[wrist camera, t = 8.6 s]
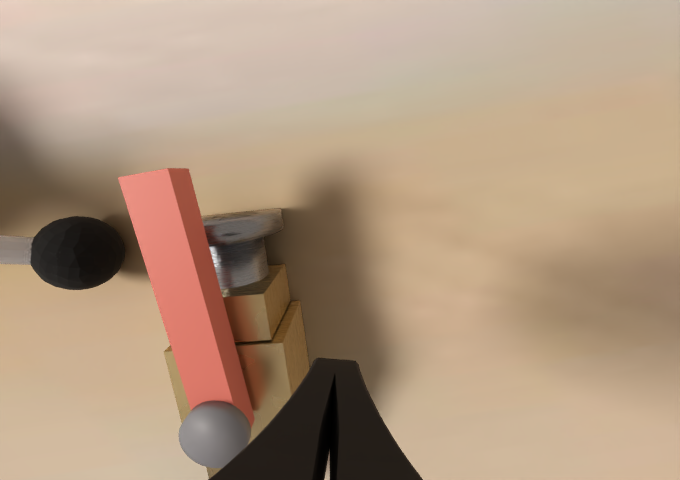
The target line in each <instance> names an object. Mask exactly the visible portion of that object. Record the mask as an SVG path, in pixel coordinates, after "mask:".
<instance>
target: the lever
mask: <svg viewBox="0 0 680 480" xmlns="http://www.w3.org/2000/svg"><path fill="white" fill-rule="evenodd" d="M118 179H119V183H120V186H121V189H122V192H123V195H124V198H125V202H126V205H127V208H128V211H129V214H130V218H131V221H132V224H133V227H134V230H135V234H136V237H137V240H138V243H139V246H140V249H141V253H142V256H143V259H144V262H145V265H146V269H147V272H148V275H149V278H150V281H151V285H152V288H153V291H154V294H155V297H156V300H157V304H158V307H159V310H160V313H161V316H162V320H163V323H164V326H165V329H166V332H167V335H168V339H169V342H170V345H171V348H172V351H173V355H174V358H175V361H176V364H177V367H178V371H179V374H180V377H181V380H182V383H183V386H184V390H185V393H186V396H187V399H188V402H189V406H190V409H191V411H190V412H189V414H188V415H187V417H186V418H185V420H184V421H183V423H182V425H181V427H180V429H179V442H180V445H181V447H182V449H183V451H184V452H185V453H186V455H187V456H188V457H189V458H191V459H192V460H193V461H195V462H196V463H198V464H200V465H203V466H206V467H210V468H223V467H224V466H225V465H226V464H228V463H229V462H230V461H231V460H232V459H233V458H234V457H235V456H236V455H237V454H239V453H240V452H241V451H242V450H243V449H244V448H245V447H246V446H247V445H248V443H249V440H250V437H251V428H252V425H253V423H254V420H255V418H254V414H253V410H252V406H251V403H250V399H249V395H248V391H247V388H246V384H245V380H244V376H243V372H242V369H241V365H240V361H239V357H238V354H237V350H236V346H235V342H234V339H233V335H232V331H231V327H230V323H229V320H228V316H227V312H226V308H225V305H224V301H223V297H222V293H221V290H220V286H219V282H218V278H217V274H216V271H215V267H214V263H213V259H212V256H211V252H210V248H209V244H208V240H207V237H206V233H205V229H204V225H203V222H202V218H201V214H200V210H199V207H198V203H197V199H196V195H195V191H194V188H193V184H192V180H191V176H190V173H189V169H176V168H167V169H162V170H156V171H151V172H145V173H140V174H134V175H129V176H123V177H118Z"/></svg>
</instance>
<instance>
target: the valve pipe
mask: <svg viewBox="0 0 680 480" xmlns="http://www.w3.org/2000/svg"><path fill="white" fill-rule="evenodd" d="M201 218H202V222H203V225H204V229H205V233H206V237H207V240H208V244H209V248H210V252H211V256H212V259H213V263H214V267H215V271H216V274H217V278H218V282H219V286H220V290H221V293H222V297H223V301H224V305H225V308H226V312H227V316H228V320H229V323H230V327H231V331H232V335H233V339H234V342H235V346H236V350H237V354H238V357H239V361H240V365H241V369H242V372H243V376H244V380H245V384H246V388H247V391H248V395H249V399H250V403H251V406H252V410H253V414H254V418H255V420H254V423H253V425H252V428H251V437H250V440H249V443H250V442H251V441H252V440H253V439H254V438H255V437H256V436H257V435H258V434H259V433H260V432H261V431H262V430H263V429H264V428H265V427H266V426H267V425H268V424H269V423H270V421H271V420H272V419H273V418H274V417H275V416H276V414H277V413H278V412H279V411H280V410H281V408H282V407H283V406H284V405H285V404H286V402H287V401H288V400H289V399H290V397H291V396H292V394H293V393H294V392H295V390H296V389H297V388H298V386H299V385H300V384H301V382H302V381H303V379H304V377H305V376H306V374H307V373H308V371H309V369H310V366H309V359H308V352H307V345H306V338H305V331H304V324H303V318H302V311H301V304H300V301H290V300H291V299H290V293H289V286H288V279H287V273H286V266H285V264H281V265H270V266H268V262H267V256H266V250H265V243H264V237H265V236H268V235H271V234H274V233H276V232H279V231H281V230H282V229H283V228H284V226H283V220H282V213H281V209H278V208H275V209H265V210H256V211H246V212H236V213H227V214H217V215H207V216H201ZM164 355H165V359H166V363H167V366H168V370H169V374H170V378H171V382H172V386H173V390H174V394H175V398H176V402H177V406H178V410H179V414H180V418H181V422H182V423H183V421H184V420H185V418H186V417H187V415H188V414H189V412H190V411H191V409H190V406H189V402H188V399H187V396H186V393H185V390H184V386H183V383H182V380H181V377H180V374H179V371H178V367H177V364H176V361H175V358H174V355H173V351H172V348H171V345H170V346H169V347H168V348H167V349H166V350H165V351H164ZM249 443H248V444H249ZM206 468H207V472H208V476H209V479H210V478H211V477H212V476H213V475H215V474H216V473H217V472H218V471H219V470H221V469H222V468H210V467H206Z"/></svg>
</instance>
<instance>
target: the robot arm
mask: <svg viewBox="0 0 680 480" xmlns="http://www.w3.org/2000/svg"><path fill="white" fill-rule="evenodd" d="M329 449H330V480H423V479H422V478H421V477H420V475H419V474H418V473H417V471H416V470H415V469H414V467H413V466H412V465H411V463H410V462H409V460H408V459H407V458H406V456H405V455H404V453H403V452H402V450H401V449H400V447H399V446H398V444H397V443H396V441H395V440H394V438H393V437H392V435H391V433H390V432H389V430H388V428H387V427H386V425H385V423H384V421H383V420H382V418H381V416H380V414H379V412H378V410H377V408H376V406H375V404H374V402H373V400H372V399H371V397H370V394H369V392H368V390H367V388H366V385H365V383H364V380H363V378H362V375H361V372H360V369H359V365H358V363H357V362H356V361H350V360H338V359H326V358H317V359H316V360H314V362H313V364H312V366H311V368H310V369H309V371H308V373H307V374H306V376H305V377H304V379H303V381H302V382H301V384H300V385H299V386H298V388H297V389H296V390H295V392H294V393H293V394H292V396H291V397H290V399H289V400H288V401H287V402H286V404H285V405H284V406H283V407H282V408H281V410H280V411H279V412H278V413H277V414H276V416H275V417H274V418H273V419H272V420H271V421H270V423H269V424H268V425H267V426H266V427H265V428H264V429H263V430H262V431H261V432H260V433H259V434H258V435H257V436H256V437H255V438H254V439H253V440H252V441H251V442H250V443H249V444H248V445H247V446H246V447H245V448H244V449H243V450H242V451H241V452H240V453H239V454H237V455H236V456H235V457H234V458H233V459H232V460H231V461H230V462H229V463H228V464H226V465H225V466H224V467H223V468H222V469H221V470H219V471H218V472H217V473H216V474H215V475H213V476H212V477H211V478H210V479H208V480H324V478H325V472H326V466H327V461H328V455H329Z"/></svg>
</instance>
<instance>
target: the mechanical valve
mask: <svg viewBox="0 0 680 480" xmlns="http://www.w3.org/2000/svg"><path fill="white" fill-rule="evenodd" d="M124 257H125V248H124V244H123V242H122V240H121V238H120V236H119V234H118V233H117V232H116V230H115V229H114V228H112V227H111V226H109V225H107V224H106V223H104V222H102V221H100V220H97V219H94V218H91V217H79V216H74V217H68V218H64V219H59V220H56V221H53V222H52V223H50V224H48V225H47V226H45V227H44V228H42V229H41V230H40V231H39V232H38V234H37V235H36V236H35V237H19V236H3V235H0V264H28V265H31V266H32V267H33V269H34V271H35V272H36V273H37V274H38V275H39V276H40V278H41V279H43V280H44V281H45V282H47V283H49V284H51V285H53V286H55V287H60V288H64V289H69V290H82V289H88V288H93V287H96V286H99V285H101V284H103V283H105V282H107V281H108V280H110V279H111V278H112V277H113V276H114V275H115V274H116V273H117V272H118V271H119V269H120V267H121V265H122V263H123V260H124Z"/></svg>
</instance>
